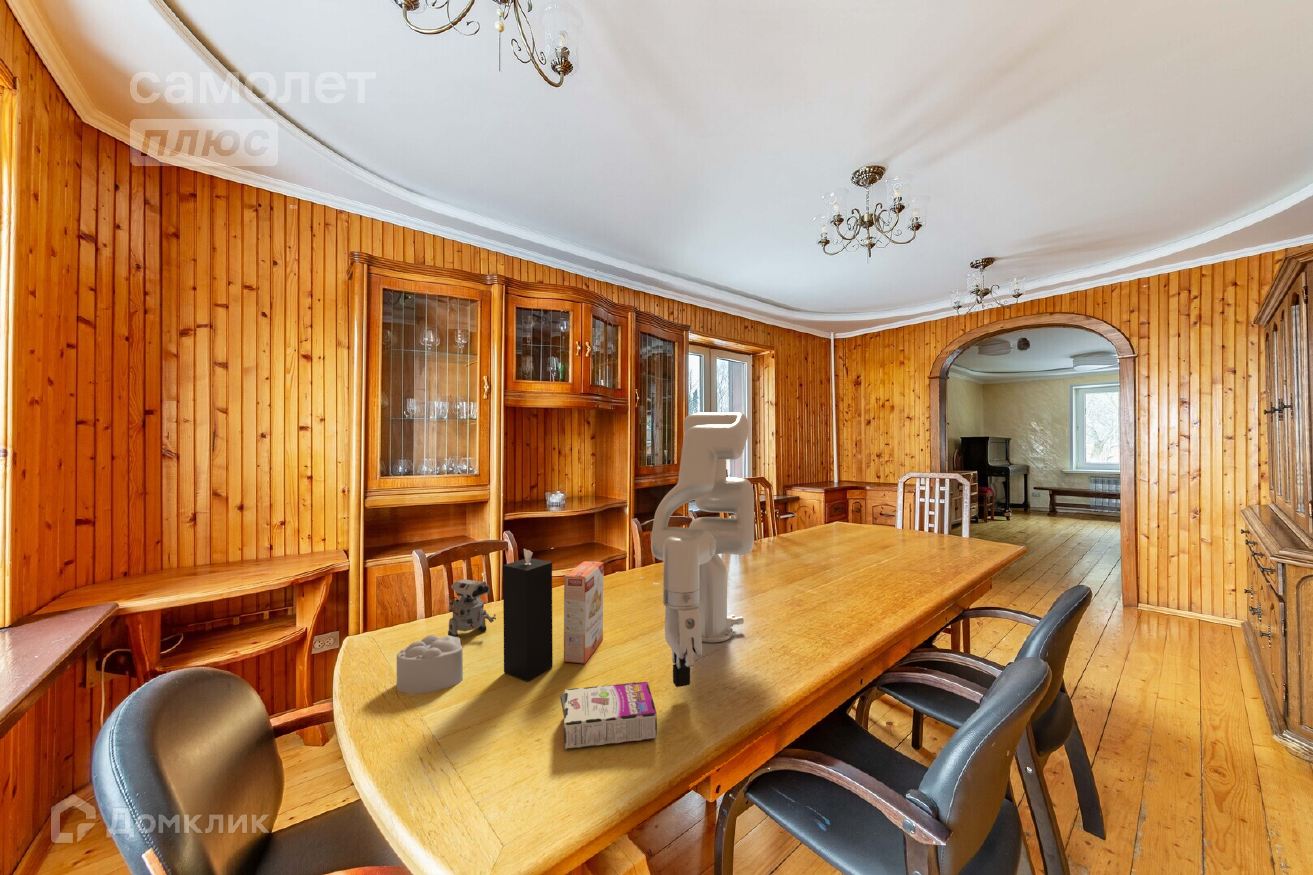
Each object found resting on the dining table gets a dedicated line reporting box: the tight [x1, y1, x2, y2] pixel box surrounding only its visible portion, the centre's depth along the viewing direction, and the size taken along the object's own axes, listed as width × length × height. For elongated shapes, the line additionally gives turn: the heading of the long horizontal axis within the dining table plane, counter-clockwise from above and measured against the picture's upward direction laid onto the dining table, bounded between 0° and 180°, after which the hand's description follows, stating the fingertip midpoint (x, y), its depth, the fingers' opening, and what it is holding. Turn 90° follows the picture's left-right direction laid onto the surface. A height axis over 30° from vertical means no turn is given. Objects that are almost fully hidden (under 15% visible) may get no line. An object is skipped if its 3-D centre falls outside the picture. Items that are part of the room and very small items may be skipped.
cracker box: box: [563, 560, 605, 665], centre depth 120 cm, size 14×6×21 cm, turn 168°
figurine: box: [447, 578, 497, 638], centre depth 129 cm, size 9×12×15 cm
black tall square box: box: [502, 548, 554, 682], centre depth 110 cm, size 8×8×28 cm
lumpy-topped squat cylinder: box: [396, 634, 464, 695], centre depth 106 cm, size 10×13×9 cm
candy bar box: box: [563, 681, 658, 750], centre depth 89 cm, size 11×5×16 cm
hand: (681, 683), depth 99 cm, fingers closed
